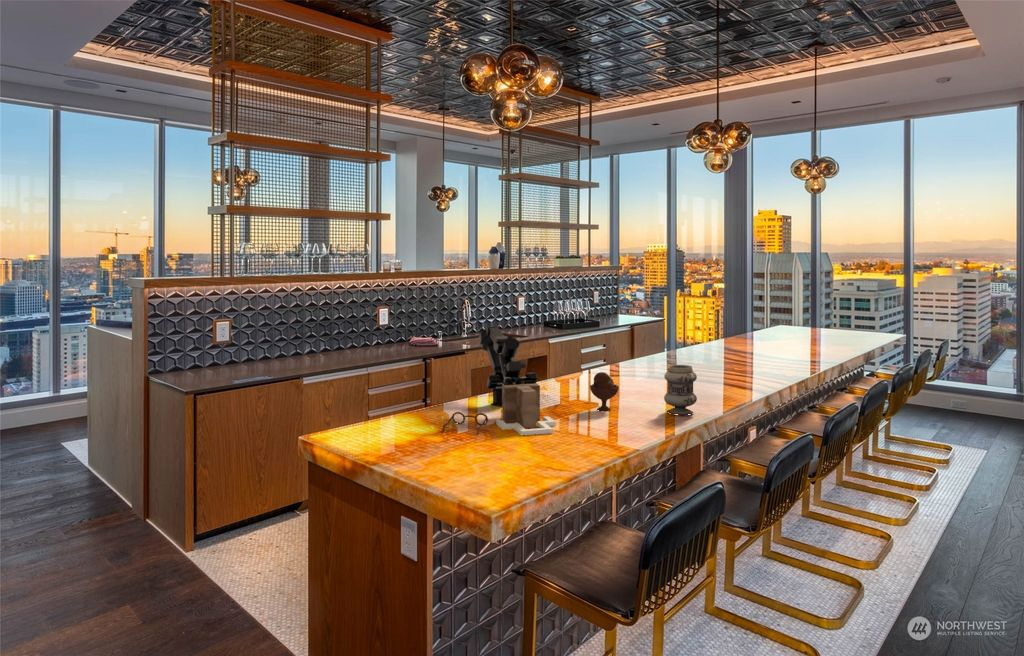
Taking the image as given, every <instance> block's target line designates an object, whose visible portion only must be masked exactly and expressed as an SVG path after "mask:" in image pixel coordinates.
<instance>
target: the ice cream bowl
mask: <svg viewBox="0 0 1024 656" xmlns="http://www.w3.org/2000/svg"><path fill="white" fill-rule="evenodd" d="M589 388H590V391H591V393H592V395H593V396H595V397H596V398H597V399H598V400H601V406H599V407H597V408H596V410H599V411H598V412H601V411H609V412H611V411H612V408H610V407H608V405H607V402H608V400H610V399H612V398H614V397H615V396H616V395H617V393H618V391H619V388H620V386H619V385H617V384H614V379H613V378H612V377H611V376H610V375H609V374H608V373H607V372H603V371H600V372H597V373H596V374H595V375H594V377H593V384H590V385H589ZM610 410H611V411H610Z"/></svg>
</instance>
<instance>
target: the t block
mask: <svg viewBox="0 0 1024 656" xmlns="http://www.w3.org/2000/svg"><path fill="white" fill-rule="evenodd" d="M540 401H541V385H540V384H538V383H536V384H524V383H523V384H520V385H503V386H502V406H501V411H502V412H501V416H502V418H501V420H503V421H504V422H505V423H506V424H511V423H513V422H517V423H519V424H520V425H521V426H522V427H523V428H530V429H537V421H541V402H540Z"/></svg>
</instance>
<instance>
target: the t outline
mask: <svg viewBox="0 0 1024 656" xmlns="http://www.w3.org/2000/svg"><path fill="white" fill-rule="evenodd" d="M495 423H496V425H497V427H499V428H500V429H501V431H505V430H504V429H508V430H514V431H516V433H518V434H519V435H520V436H523V435H525V436H534V435H535V434H536V435H546V434H548V435H549V434H553V431H554V430H553V428H552V427H555V426H557V421H556V420H554V419H553V418H552V417H550V416H549V415H548V416H545V415H544V416H542V420H540V421H536V428H530V429H525V428H523V427H522V426H521V425H520V424H519V423H505V422H504V421H503V420H502V419H496V420H495ZM538 426H539V427H540V428H539V427H538ZM537 427H538V428H537ZM536 435H535V436H536ZM523 437H524V436H523Z"/></svg>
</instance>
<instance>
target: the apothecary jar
mask: <svg viewBox="0 0 1024 656" xmlns="http://www.w3.org/2000/svg"><path fill="white" fill-rule="evenodd" d="M697 378H698V376H697V374H696V373H695V371H693V366H692V365H688V364H673V365H672V364H671V365H669V367H668V370H667V371H666V372H665V374H664V379H665V380H666V381H667V392H666V393H665V394H664V396H663V401H664V402H665V403H666V404H667V405H669V406H671V407H672V408H670V409H668V410H666V413H667V412H669V413H671V414H678V415H688V414H692V413H694V412H693V410H691V409H690V408H689V409H688V408H687V407H691V406H693V405H694V404H696V403H697V400H698V397H697V395H696V394H695V393H694V382H695V381H696V380H697Z"/></svg>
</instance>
